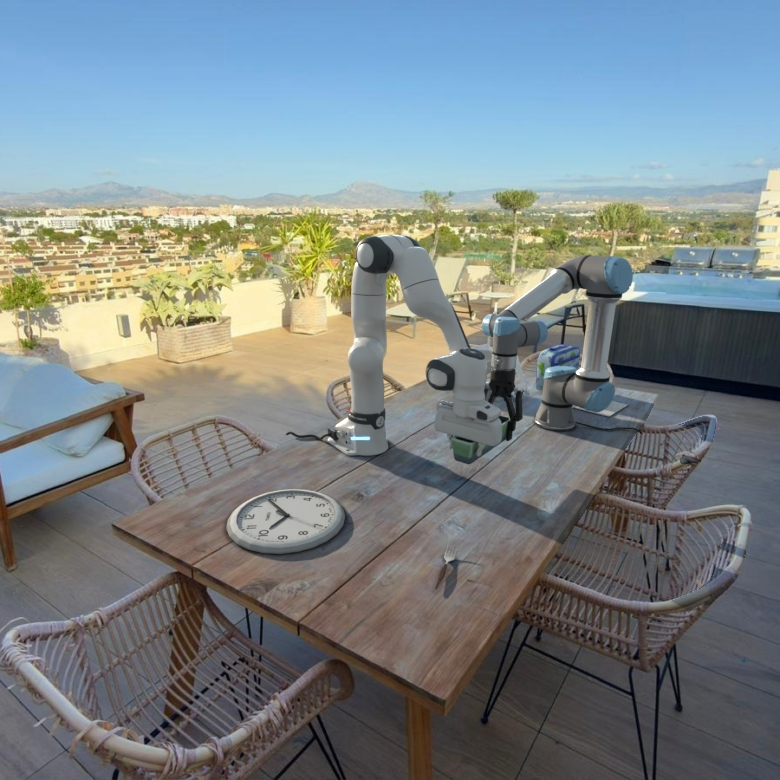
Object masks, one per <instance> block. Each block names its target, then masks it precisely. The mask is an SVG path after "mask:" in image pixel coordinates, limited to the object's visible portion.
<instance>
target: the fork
mask: <svg viewBox="0 0 780 780" xmlns="http://www.w3.org/2000/svg"><path fill="white" fill-rule="evenodd" d="M449 546H450V547H449ZM452 546H453V547H452ZM455 546H456V543H454V545H453V543H451V544H450V542H448V544H447V547H446V550H445V552H444V556H443V557H444V558H443V559H444V560H445V564H444V565H443V567H442V568H441V569H440V571H439V573H438V578H437V581H436V584H435V588H434V589H435V590H437V589H438V587H439V585H440V584H441V582H442V580H443V579H444V577H445V575H446V572H447V568H448V564H449V563H450V562H453V561H455V560H456V557H457V552H458V549H459V544H457V546H456V548H455Z"/></svg>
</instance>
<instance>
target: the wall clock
mask: <svg viewBox="0 0 780 780" xmlns="http://www.w3.org/2000/svg"><path fill="white" fill-rule="evenodd" d="M345 520H346V515H345V511H344V508H343V507H342V505H341V504H340V503H339V502H338V501H337V500H336V499H334V498H333V497H331V496H329V495H327V494H324V493H322V492H319V491H315V490H309V489H298V488H297V489H295V488H292V489H289V488H288V489H280V490H279V489H278V490H274V491H270V492H269V491H268V492H265V493H262V494H260V495H257V496H254V497H252V498H250V499H248V500H246V501H245V502H243V503H241V504H240V505H239V506H237V508H236V509H234V510H233V511H232V512H231V514H230V516H229V517H228V519H227V522H226V531H227V534H228V537H229V538H230V539H231V540H232V541H233V542H234V543H235V544H236V545H238V546H240V547H242V548H244V549H246V550H248V551H253V552H256V553H261V554H271V555H273V554H274V555H281V554H282V555H283V554H291V553H300V552H303V551H306V550H311V549H314V548H316V547H318V546H320V545H322V544H325V543H328V541H330V540H332V538H334V537H335V536H336V535H338V533H339V532H340V531H341V530H342V528H343V527H344V524H345Z"/></svg>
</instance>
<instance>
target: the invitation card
mask: <svg viewBox="0 0 780 780" xmlns="http://www.w3.org/2000/svg"><path fill="white" fill-rule="evenodd" d="M628 406H629V404H627V403H623V402H618V401H614V400H612V402H611V403H610V405H609V406H608V407H607V408H606V409H605V410H603V411H601V412H593V411H588V410H586V409H583V408H580V407H577V406H574V407H573V409H575V410H581V411H584V412H587V413H593V414H596V415H600V416H604V417H608V418H609V417H611V416H613V415H614V414H616V413H617V412H619V411H621V410H623V409H624V408H626V407H628Z"/></svg>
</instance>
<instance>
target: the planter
mask: <svg viewBox="0 0 780 780" xmlns="http://www.w3.org/2000/svg"><path fill="white" fill-rule="evenodd" d="M498 418H499V419H500V420H501V423H502V440H501V442H500V443H499V444H497V445H496V446H490V445H485V446H484V448H483V449H482V453H481V456H475V455H474V450H475V449H477V448H479V447H480V446H479V445H478V442H475V441H472V440H468V439H465V438H461V437H457V436H453V437H452V438H451V442H452V448H453V449H452V448H451V449H452V454H453V458H454V461H456V462H460V463H463V464H466V465H471V464H473V463H474V462H476V461H477V460H479V459H480V458H481V457H483V456H485V455H486V454H488V453H489V452H490V451H492V450H493V449H494V448H496V447H497V446H499V445H500V444H502V443H503V442H505V441H506V436H507V425H508V421H509V420H510V417H509V416H506V415H502V414H501V415H500V416H499V417H498Z"/></svg>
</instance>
